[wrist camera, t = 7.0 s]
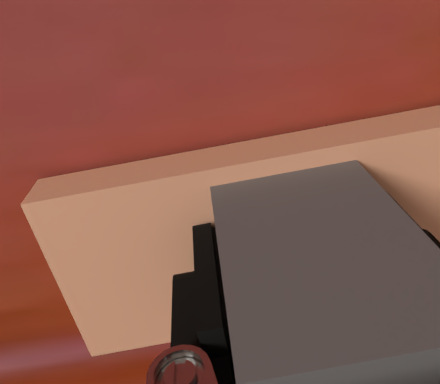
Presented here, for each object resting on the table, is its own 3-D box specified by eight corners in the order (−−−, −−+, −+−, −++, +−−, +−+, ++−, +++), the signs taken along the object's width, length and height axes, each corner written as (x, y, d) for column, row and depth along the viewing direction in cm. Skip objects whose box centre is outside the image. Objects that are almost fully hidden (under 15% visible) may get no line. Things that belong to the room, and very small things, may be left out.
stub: (475, 254, 15) (709, 477, 8) (99, 322, 15) (34, 598, 8) (503, 93, 12) (898, 239, 5) (37, 179, 12) (-136, 427, 5)
